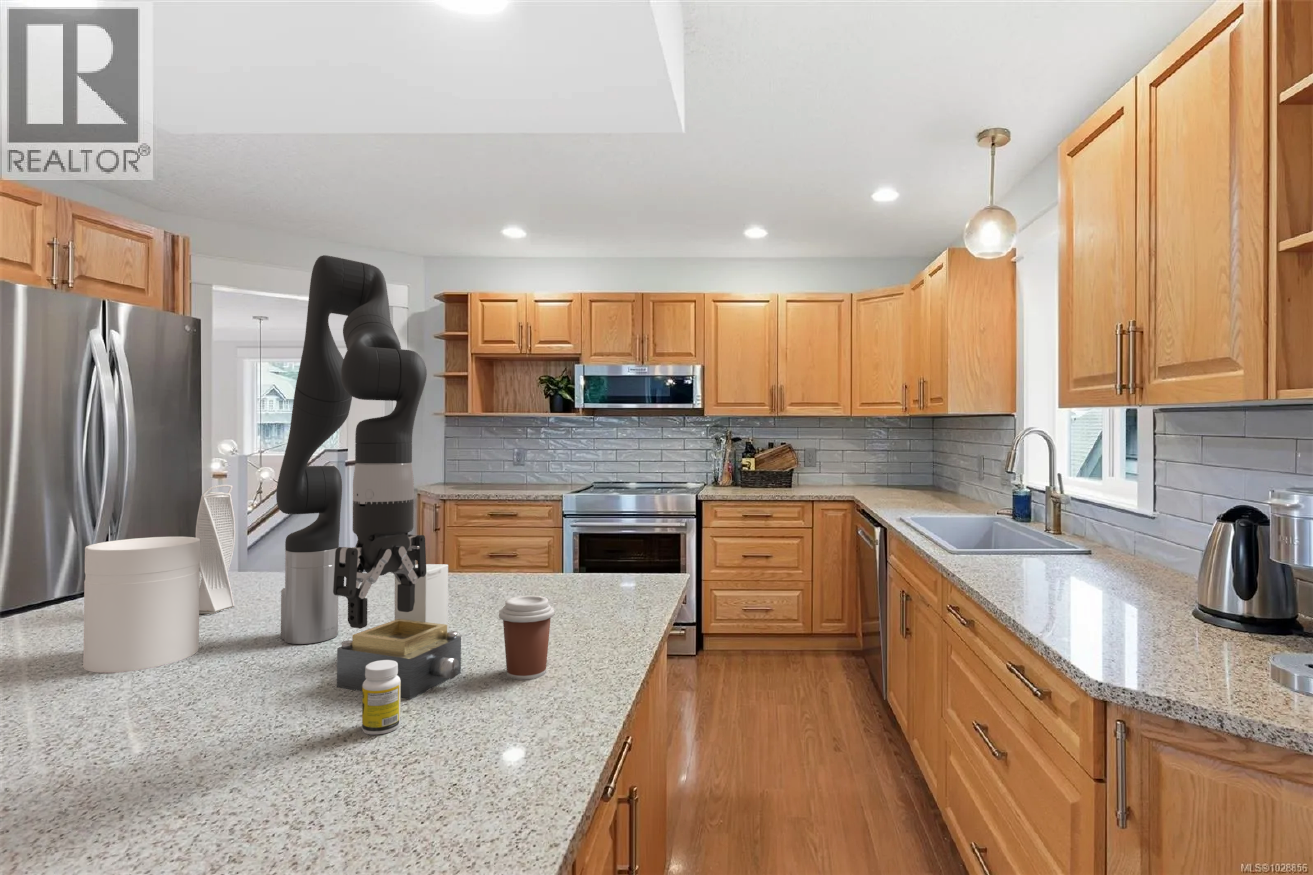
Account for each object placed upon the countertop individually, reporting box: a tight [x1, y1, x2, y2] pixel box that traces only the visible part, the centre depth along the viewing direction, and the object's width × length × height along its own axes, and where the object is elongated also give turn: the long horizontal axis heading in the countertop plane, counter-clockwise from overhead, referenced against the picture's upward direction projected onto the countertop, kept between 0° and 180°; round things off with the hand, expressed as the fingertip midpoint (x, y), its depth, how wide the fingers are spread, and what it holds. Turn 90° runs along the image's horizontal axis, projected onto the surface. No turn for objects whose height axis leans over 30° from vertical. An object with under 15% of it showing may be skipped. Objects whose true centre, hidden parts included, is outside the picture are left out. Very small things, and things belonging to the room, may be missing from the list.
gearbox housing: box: [336, 619, 462, 701], centre depth 104 cm, size 17×12×8 cm
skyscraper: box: [195, 484, 236, 615], centre depth 147 cm, size 8×8×28 cm
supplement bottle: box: [361, 660, 401, 736], centre depth 87 cm, size 5×5×8 cm
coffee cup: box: [498, 594, 556, 681], centre depth 108 cm, size 9×9×12 cm
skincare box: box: [394, 563, 449, 633], centre depth 118 cm, size 8×7×16 cm
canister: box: [82, 536, 201, 674], centre depth 115 cm, size 16×16×20 cm
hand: (382, 619), depth 87 cm, fingers open, 8 cm apart
